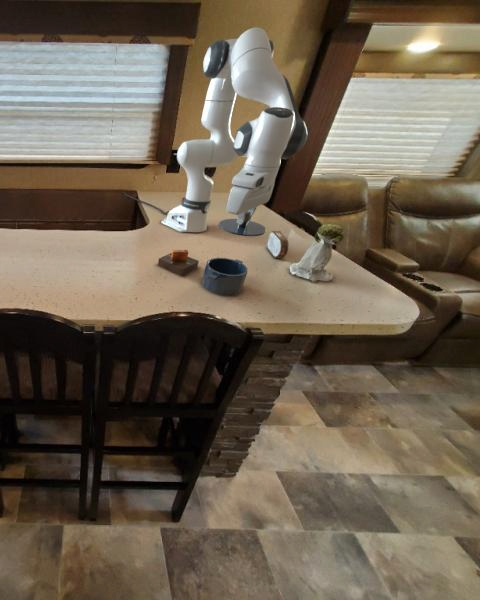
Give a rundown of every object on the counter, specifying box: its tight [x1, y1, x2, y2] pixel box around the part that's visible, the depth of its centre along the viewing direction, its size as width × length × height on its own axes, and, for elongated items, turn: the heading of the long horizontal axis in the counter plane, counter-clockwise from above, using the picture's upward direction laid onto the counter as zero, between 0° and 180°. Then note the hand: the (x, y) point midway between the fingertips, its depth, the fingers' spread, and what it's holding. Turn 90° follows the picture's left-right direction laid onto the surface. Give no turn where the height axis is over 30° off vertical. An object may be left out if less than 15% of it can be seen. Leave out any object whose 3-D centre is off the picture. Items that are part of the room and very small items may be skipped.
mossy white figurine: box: [289, 223, 345, 283], centre depth 102 cm, size 12×13×18 cm
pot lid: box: [218, 211, 267, 237], centre depth 92 cm, size 14×14×6 cm
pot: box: [201, 257, 249, 296], centre depth 99 cm, size 13×18×8 cm
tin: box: [266, 230, 289, 259], centre depth 119 cm, size 15×3×8 cm, turn 168°
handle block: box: [157, 252, 200, 277], centre depth 112 cm, size 11×10×3 cm
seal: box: [171, 249, 189, 261], centre depth 110 cm, size 6×2×4 cm, turn 84°
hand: (243, 222), depth 92 cm, fingers closed on pot lid, 2 cm apart
